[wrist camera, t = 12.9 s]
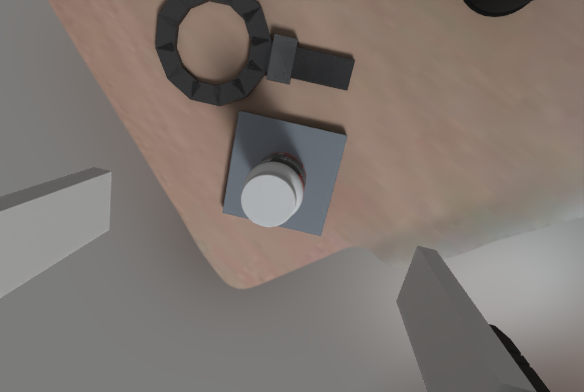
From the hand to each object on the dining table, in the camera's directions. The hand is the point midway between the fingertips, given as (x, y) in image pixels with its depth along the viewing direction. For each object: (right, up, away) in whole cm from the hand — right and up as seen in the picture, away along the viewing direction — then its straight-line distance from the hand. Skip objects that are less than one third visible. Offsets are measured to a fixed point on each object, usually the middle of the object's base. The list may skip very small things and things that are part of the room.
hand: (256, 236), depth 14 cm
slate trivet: (0, +4, +24) cm, 24 cm away
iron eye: (-2, +17, +20) cm, 26 cm away
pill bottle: (0, +4, +23) cm, 23 cm away
